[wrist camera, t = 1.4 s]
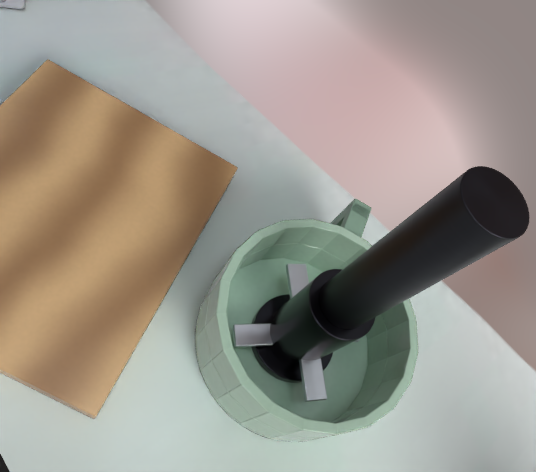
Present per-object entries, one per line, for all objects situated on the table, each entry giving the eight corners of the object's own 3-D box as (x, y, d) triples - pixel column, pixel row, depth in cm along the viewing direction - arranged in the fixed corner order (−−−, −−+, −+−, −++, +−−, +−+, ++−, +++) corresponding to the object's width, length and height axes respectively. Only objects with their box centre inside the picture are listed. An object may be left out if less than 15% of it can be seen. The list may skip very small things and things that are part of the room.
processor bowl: (159, 384, 32) (176, 364, 26) (242, 224, 38) (268, 184, 33) (340, 477, 33) (389, 475, 28) (389, 306, 40) (435, 279, 35)
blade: (234, 412, 32) (423, 326, 15) (222, 277, 35) (363, 85, 19) (359, 400, 35) (631, 319, 18) (336, 278, 39) (546, 115, 22)
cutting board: (-168, 289, 28) (-180, 279, 27) (48, 72, 38) (47, 58, 37) (94, 419, 29) (95, 416, 28) (232, 177, 40) (238, 167, 39)
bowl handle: (312, 259, 38) (342, 231, 34) (324, 228, 40) (355, 197, 36) (328, 268, 39) (360, 241, 34) (340, 237, 40) (371, 207, 36)
